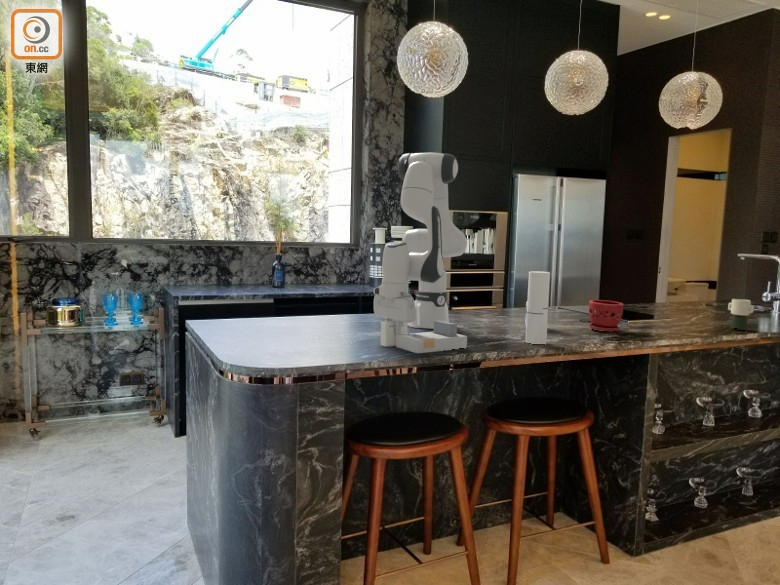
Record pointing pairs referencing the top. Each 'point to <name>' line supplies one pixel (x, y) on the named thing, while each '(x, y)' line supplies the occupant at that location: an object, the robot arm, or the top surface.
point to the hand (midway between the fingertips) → (393, 332)
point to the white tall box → (537, 307)
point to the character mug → (740, 312)
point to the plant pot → (605, 315)
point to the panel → (390, 332)
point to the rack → (433, 339)
